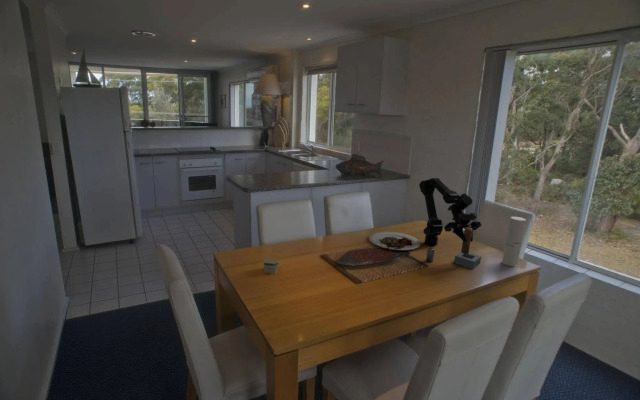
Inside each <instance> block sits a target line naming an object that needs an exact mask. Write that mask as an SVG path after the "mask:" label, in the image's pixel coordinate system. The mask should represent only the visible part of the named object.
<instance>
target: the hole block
mask: <svg viewBox="0 0 640 400" xmlns="http://www.w3.org/2000/svg"><path fill="white" fill-rule="evenodd" d="M481 260H482V256H480V255H478V254H474V253H470V252H469V253H468V254H463V253H461V251H460V252H459V253H456V254H455V256H454V260H453V263H454V264H456V265H460V266H462V267H465V268H469V269H472V270H473V269H474V270H475V268H476V267H478V266H479V265H480V264H481Z"/></svg>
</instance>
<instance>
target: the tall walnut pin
mask: <svg viewBox="0 0 640 400" xmlns="http://www.w3.org/2000/svg"><path fill="white" fill-rule="evenodd" d="M472 230H473V229H472V228H467V227H466V228H464V230H463V233H464V236H465V239H466V242H464V241H463V240H462V245H461V251H460V252H461V253H463V254H468V253H470V252H469V251H470V247H471V236H472ZM473 231H474V230H473Z"/></svg>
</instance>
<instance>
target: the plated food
mask: <svg viewBox="0 0 640 400" xmlns="http://www.w3.org/2000/svg"><path fill="white" fill-rule="evenodd" d="M368 240H369V241H370V243H372V244H373V245H375V246H378V247H381V248H384V249H387V248H388V247H389V248H388V250H394V251H412V250H416V249H418V248H420V246H421V241H420V240H419V239H417V238H416V237H414V236H412V235H410V234H406V233H403V232H398V231H396V232H395V231H377V232H373V233H371V234H370V235H369V236H368ZM392 247H398V248H401V249H394V248H392Z"/></svg>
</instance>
